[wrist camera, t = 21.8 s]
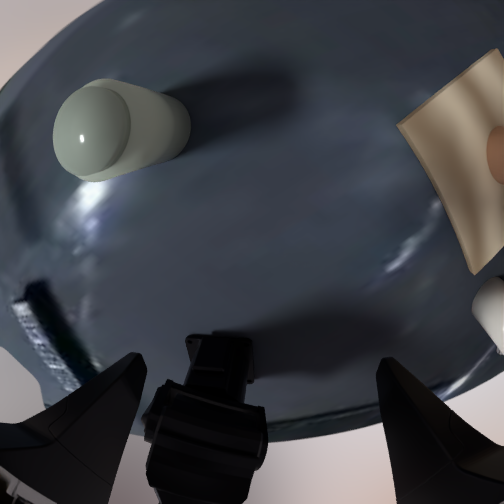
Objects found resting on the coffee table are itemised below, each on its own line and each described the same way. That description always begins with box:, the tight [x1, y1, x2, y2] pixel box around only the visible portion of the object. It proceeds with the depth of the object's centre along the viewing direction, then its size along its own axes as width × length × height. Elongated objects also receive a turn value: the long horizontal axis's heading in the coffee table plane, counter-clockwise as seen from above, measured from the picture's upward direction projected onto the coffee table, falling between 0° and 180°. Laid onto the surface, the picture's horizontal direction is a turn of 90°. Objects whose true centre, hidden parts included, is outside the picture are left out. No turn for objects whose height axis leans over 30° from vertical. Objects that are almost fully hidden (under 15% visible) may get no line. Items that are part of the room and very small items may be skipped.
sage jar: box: [53, 79, 191, 182], centre depth 14 cm, size 5×5×9 cm
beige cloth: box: [396, 49, 504, 275], centre depth 15 cm, size 16×16×1 cm
